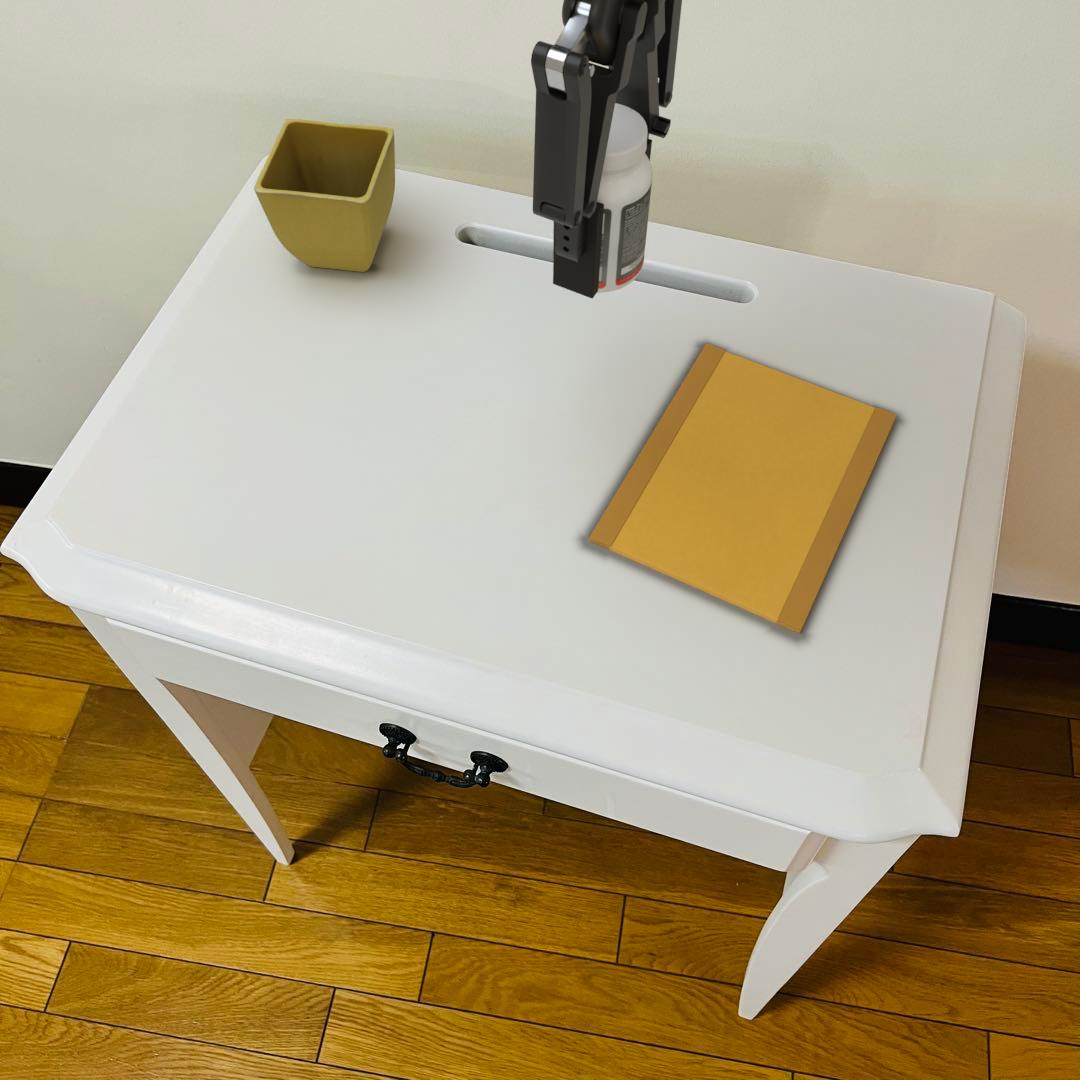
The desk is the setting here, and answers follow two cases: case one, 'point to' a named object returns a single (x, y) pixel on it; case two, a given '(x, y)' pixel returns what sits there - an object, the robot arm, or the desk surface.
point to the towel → (747, 485)
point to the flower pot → (329, 191)
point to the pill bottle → (624, 200)
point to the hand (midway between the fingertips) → (598, 254)
